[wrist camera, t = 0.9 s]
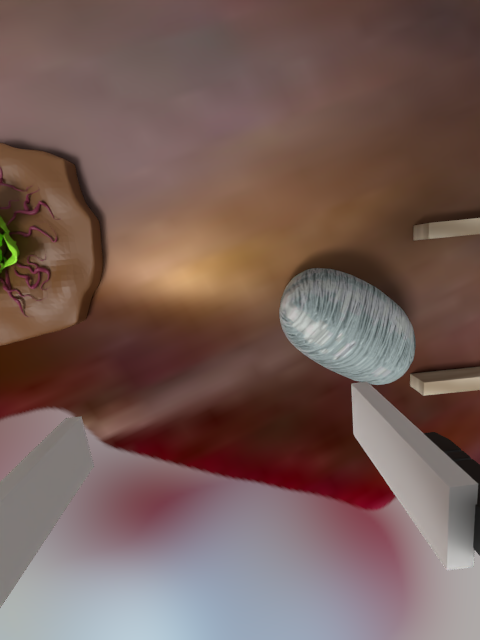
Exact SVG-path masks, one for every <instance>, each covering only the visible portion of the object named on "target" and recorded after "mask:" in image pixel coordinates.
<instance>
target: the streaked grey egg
mask: <svg viewBox="0 0 480 640" xmlns="http://www.w3.org/2000/svg"><path fill="white" fill-rule="evenodd" d="M279 317H280V322H281V326H282V329H283V331H284V333H285V335H286V336H287V338H288V340H289V341H290V342H291V343H292V344H293V345H294V346H295V347H296V348H297V349H298V350H299V351H301V352H302V353H303V354H304V355H306V356H307V357H309V358H310V359H312V360H314V361H315V362H317V363H319V364H320V365H322V366H324V367H326V368H328V369H330V370H332V371H334V372H336V373H338V374H340V375H343V376H345V377H348V378H350V379H352V380H355V381H360V382H368V383H369V384H376V385H379V384H387V383H391V382H393V381H395V380H397V379H398V378H400V377H401V376H402V375H403V374H404V373H405V372H406V371H407V370H408V368H409V366H410V364H411V363H412V361H413V358H414V353H415V335H414V331H413V327H412V325H411V323H410V321H409V319H408V317H407V315H406V314H405V312H404V311H403V310H402V309H401V308H400V307H399V306H398V305H397V304H396V303H395V302H394V301H393V300H392V299H390V298H389V297H388V296H387V295H385V294H384V293H383V292H382V291H380V290H379V289H377V288H376V287H374V286H373V285H371V284H369V283H367V282H365V281H363V280H361V279H359V278H357V277H355V276H353V275H350V274H347V273H344V272H341V271H337V270H334V269H325V268H312V269H308V270H305V271H303V272H301V273H300V274H298V275H296V276H295V277H294V278H293V279H292V280H291V281H290V282H289V283H288V285H287V286H286V288H285V290H284V293H283V296H282V298H281V304H280V312H279Z"/></svg>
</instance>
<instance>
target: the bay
mask: <svg viewBox="0 0 480 640" xmlns="http://www.w3.org/2000/svg"><path fill="white" fill-rule="evenodd" d="M474 234H480V218H473V219H463V220H454V221H444V222H434V223H426V224H420V225H415V226H414V229H413V240H424V239H434V238H444V237H454V236H464V235H474ZM410 386H411V387H412V388H414V389H415V390H417V391H418V392H419V393H421V394H422V395H433V394H443V393H453V392H462V391H472V390H480V367H471V368H462V369H452V370H442V371H433V372H423V373H413V374H410Z"/></svg>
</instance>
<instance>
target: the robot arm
mask: <svg viewBox="0 0 480 640" xmlns="http://www.w3.org/2000/svg"><path fill="white" fill-rule="evenodd" d="M351 387H352V410H353V434H354V436H355V437H356V439H357V440H358V442H359V443H360V445H361V446H362V448H363V449H364V451H365V452H366V453H367V455H368V456H369V458H370V459H371V461H372V462H373V464H374V465H375V467H376V468H377V469H378V471H379V472H380V474H381V475H382V477H383V478H384V480H385V481H386V483H387V484H388V485H389V487H390V488H391V490H392V491H393V493H394V494H395V496H396V497H397V499H398V500H399V501H400V503H401V504H402V506H403V507H404V509H405V510H406V512H407V513H408V515H409V516H410V517H411V519H412V520H413V522H414V523H415V525H416V526H417V528H418V529H419V531H420V532H421V533H422V535H423V536H424V538H425V539H426V541H427V542H428V543H429V545H430V546H431V548H432V549H433V551H434V552H435V554H436V555H437V557H438V558H439V560H440V561H441V562H442V564H443V565H444V567H445V568H446V570H453V569H462V568H470V567H474V550H476V552H477V553H478V554H479V555H480V465H479V464H478V463H477V462H476V461H474V460H473V459H471V458H470V456H468V455H467V454H466V453H465V452H464V451H461V449H460V448H459V447H458V446H456V445H455V444H454V443H453V442H452V441H451V440H449V439H447V438H445V437H443V436H441V435H439V434H437V433H435V432H431V433H422V432H421V431H420V430H419V429H418V428H417V427H416V426H415V425H414V424H412V423H411V422H410V421H409V420H408V419H407V418H406V417H405V416H404V415H403V414H402V413H401V412H399V411H398V410H397V409H396V408H395V407H394V406H393V405H392V404H391V403H390V402H389V401H387V400H386V399H385V398H384V397H383V396H382V395H381V394H380V393H379V392H378V391H377V390H375V389H374V388H373V387H372V386H371V385H370V384H369V383H368V382H361V383H353V384H351ZM93 467H94V464H93V460H92V456H91V452H90V449H89V445H88V440H87V437H86V432H85V428H84V424H83V420H82V416H81V417H73V418H66V419H65V420H64V421H63V422H61V424H60V425H59V426H57V427H56V428H55V429H54V430H53V431H52V432H51V433H50V434H49V435H48V436H47V437H46V438H45V439H44V440H43V441H42V442H41V443H40V444H39V445H38V446H37V447H36V448H35V449H34V450H33V451H32V452H31V453H29V454H28V456H27V457H25V458H24V459H23V460H22V461H21V462H20V463H19V464H18V465H17V466H16V467H15V468H14V469H13V470H12V471H11V472H10V473H9V474H8V475H7V476H6V477H5V478H4V479H3V480H2V481H1V482H0V608H1V606H2V605H3V603H4V602H5V600H6V599H7V597H8V596H9V594H10V593H11V591H12V589H13V588H14V586H15V585H16V583H17V582H18V580H19V579H20V577H21V576H22V574H23V573H24V571H25V570H26V568H27V567H28V565H29V564H30V562H31V561H32V559H33V558H34V556H35V555H36V553H37V552H38V550H39V549H40V547H41V545H42V544H43V542H44V541H45V540H46V538H47V537H48V535H49V534H50V532H51V530H52V529H53V527H54V526H55V524H56V523H57V521H58V520H59V518H60V517H61V515H62V513H63V512H64V511H65V509H66V508H67V506H68V505H69V503H70V502H71V500H72V499H73V497H74V496H75V494H76V493H77V491H78V490H79V488H80V486H81V485H82V483H83V482H84V481H85V479H86V477H87V476H88V474H89V473H90V471H91V470H92V468H93Z"/></svg>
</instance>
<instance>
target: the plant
mask: <svg viewBox="0 0 480 640" xmlns="http://www.w3.org/2000/svg"><path fill="white" fill-rule="evenodd" d="M102 269H103V257H102V247H101V231H100V224H99V221H98V219H97V217H96V216H95V215H94V213H93V212H92V211H91V210H90V208H89V207H88V206H87V204H86V202H85V200H84V198H83V195H82V192H81V189H80V185H79V182H78V179H77V174H76V168H75V165H74V164H73V163H71V162H69V161H67V160H65V159H63V158H60V157H57V156H55V155H53V154H50V153H48V152H44V151H39V150H26V149H19V148H15V147H11V146H9V145H6V144H3V143H0V345H7V344H10V343H14V342H17V341H21V340H25V339H29V338H33V337H36V336H40V335H43V334H47V333H51V332H55V331H59V330H62V329H65V328H68V327H71V326H73V325H76V324H78V323H80V322H82V321H84V320H85V319H86V318H87V314H88V310H89V306H90V302H91V299H92V296H93V293H94V291H95V290H96V288H97V287H98V285H99V283H100V280H101V275H102Z"/></svg>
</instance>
